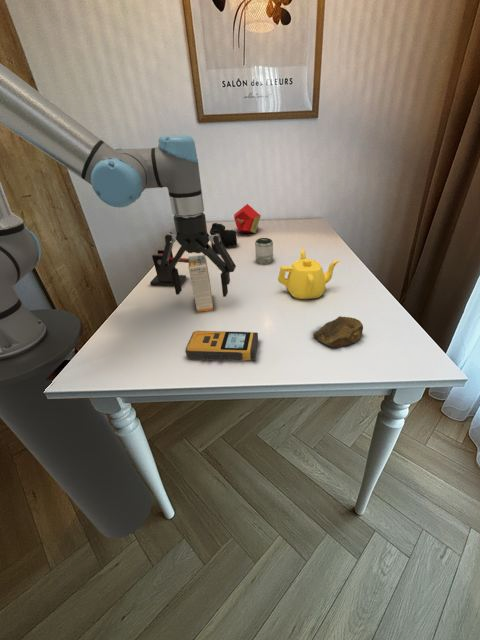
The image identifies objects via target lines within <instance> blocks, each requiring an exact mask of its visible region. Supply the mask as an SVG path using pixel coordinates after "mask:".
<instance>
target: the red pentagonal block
mask: <svg viewBox="0 0 480 640" xmlns="http://www.w3.org/2000/svg"><path fill="white" fill-rule="evenodd" d="M261 216H262V215H261V214H260V213H258V212H257V210H255V209H254V208H253V207H252V206H250V204H248V203H246V204H245V205H243V207H242V208H240V209H239V210H238V211H237V212H235V213H234V214H233V220H234V222H235V226H236V229H237V231H238V233H246V234H256V233H257V229H258V226H259V223H260V219H261V218H262V217H261Z"/></svg>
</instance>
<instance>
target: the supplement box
mask: <svg viewBox="0 0 480 640" xmlns="http://www.w3.org/2000/svg"><path fill="white" fill-rule="evenodd" d="M188 259H189V263H188V271H189V277H190V283H191V288H192V292H193V297H194V298H193V299H194V303H195V308H196V312H197V313H199V312H208V311H213V310H214V306H213V296H212V289H211V287H212V286H211V281H210V273H209V268H208V262H207V256H206V255H204V254H197V255H190V256H188Z"/></svg>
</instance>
